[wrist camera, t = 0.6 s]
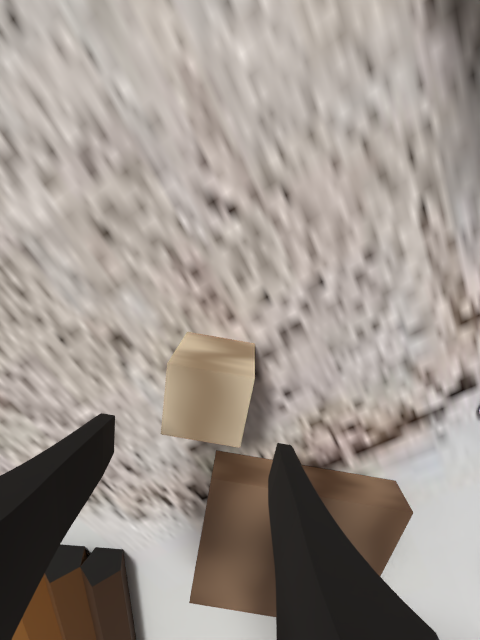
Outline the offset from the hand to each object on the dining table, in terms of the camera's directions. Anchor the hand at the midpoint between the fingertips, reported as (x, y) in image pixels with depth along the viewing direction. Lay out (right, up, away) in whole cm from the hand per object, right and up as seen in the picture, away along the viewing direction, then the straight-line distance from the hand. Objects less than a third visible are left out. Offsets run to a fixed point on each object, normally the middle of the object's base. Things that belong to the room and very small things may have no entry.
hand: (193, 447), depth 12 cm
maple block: (0, +2, +7) cm, 7 cm away
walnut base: (+6, -12, +11) cm, 18 cm away
